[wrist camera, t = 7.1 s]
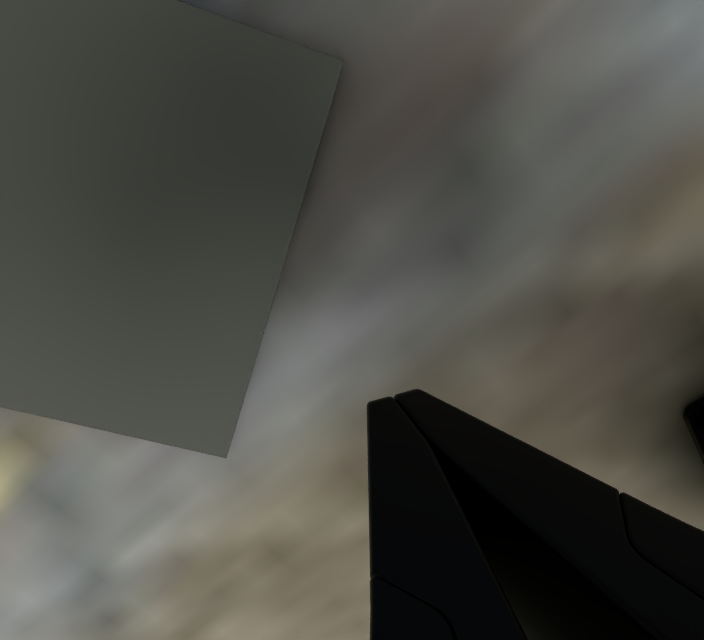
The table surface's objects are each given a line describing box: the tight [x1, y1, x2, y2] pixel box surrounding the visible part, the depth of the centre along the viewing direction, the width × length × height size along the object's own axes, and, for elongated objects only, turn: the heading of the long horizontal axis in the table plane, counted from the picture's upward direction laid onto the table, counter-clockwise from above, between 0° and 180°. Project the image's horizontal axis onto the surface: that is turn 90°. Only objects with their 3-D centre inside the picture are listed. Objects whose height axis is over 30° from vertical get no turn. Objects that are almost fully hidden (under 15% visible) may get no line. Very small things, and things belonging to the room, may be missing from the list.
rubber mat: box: [0, 0, 344, 458], centre depth 17 cm, size 13×14×1 cm
